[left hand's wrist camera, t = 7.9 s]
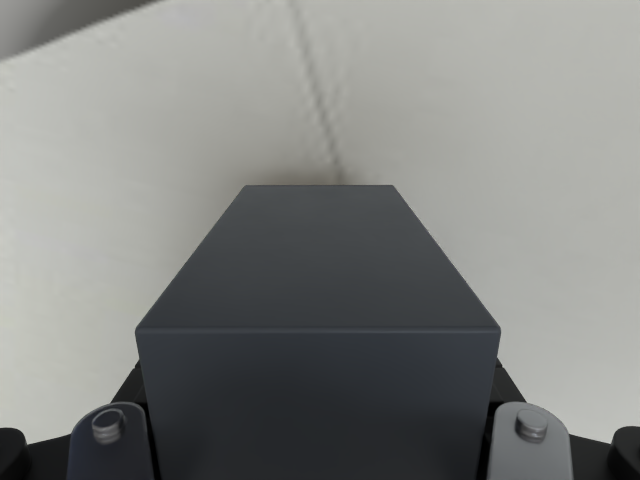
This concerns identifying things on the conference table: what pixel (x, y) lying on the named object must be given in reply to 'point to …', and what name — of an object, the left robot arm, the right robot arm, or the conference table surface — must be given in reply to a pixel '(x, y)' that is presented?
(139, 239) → the conference table surface
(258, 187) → the box
